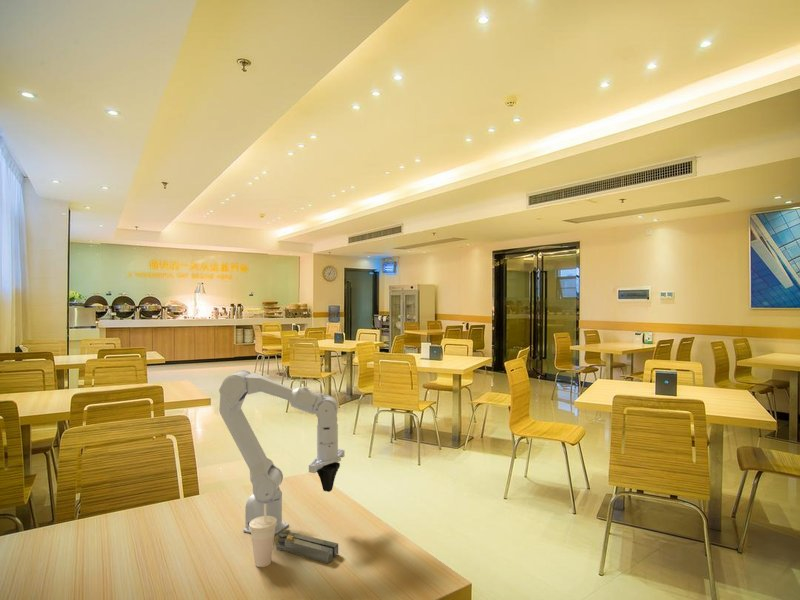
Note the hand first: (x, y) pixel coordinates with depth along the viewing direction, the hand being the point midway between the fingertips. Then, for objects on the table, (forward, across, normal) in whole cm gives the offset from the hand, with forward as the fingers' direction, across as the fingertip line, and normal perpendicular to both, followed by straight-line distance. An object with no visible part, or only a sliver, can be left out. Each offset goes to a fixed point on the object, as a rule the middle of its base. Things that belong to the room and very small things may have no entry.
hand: (327, 490), depth 123 cm
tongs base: (+10, -13, -2) cm, 16 cm away
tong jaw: (+10, -12, -2) cm, 15 cm away
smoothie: (+10, -21, +4) cm, 24 cm away
